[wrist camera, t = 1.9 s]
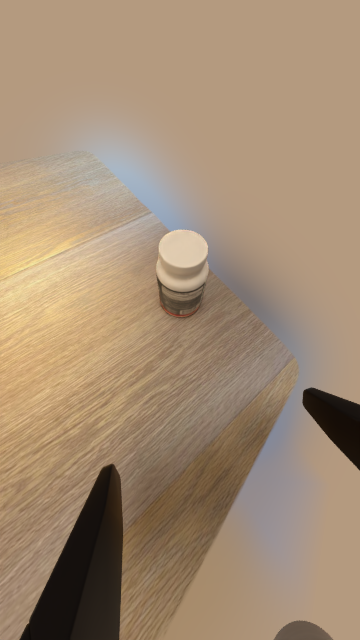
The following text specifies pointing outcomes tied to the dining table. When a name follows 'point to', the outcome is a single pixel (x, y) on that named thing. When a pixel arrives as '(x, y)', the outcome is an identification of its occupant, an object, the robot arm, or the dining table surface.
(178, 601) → the dining table surface
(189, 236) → the pill bottle
